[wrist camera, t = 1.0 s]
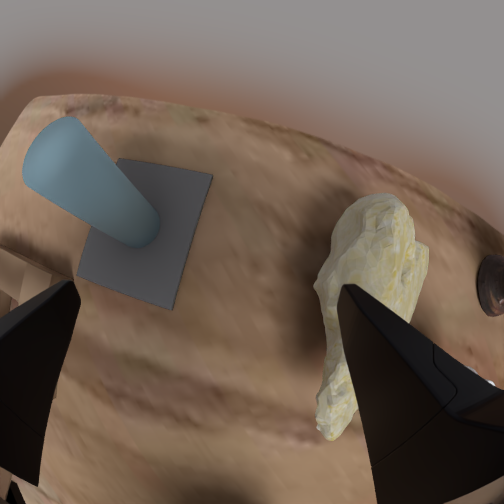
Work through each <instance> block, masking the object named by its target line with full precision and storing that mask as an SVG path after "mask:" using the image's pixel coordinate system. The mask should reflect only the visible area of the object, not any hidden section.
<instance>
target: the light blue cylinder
mask: <svg viewBox="0 0 504 504" xmlns="http://www.w3.org/2000/svg"><path fill="white" fill-rule="evenodd" d="M22 175H23V180H24V182H25V184H26V185H27V186H28V187H29V188H31V189H32V190H34V191H35V192H37V193H39V194H40V195H42V196H43V197H45V198H47V199H48V200H50V201H51V202H53V203H55V204H56V205H58V206H60V207H61V208H63V209H65V210H66V211H68V212H70V213H71V214H73V215H75V216H76V217H78V218H80V219H81V220H83V221H85V222H87V223H88V224H90V225H92V226H93V227H95V228H97V229H99V230H100V231H102V232H104V233H106V234H108V235H109V236H111V237H113V238H115V239H117V240H118V241H120V242H122V243H124V244H126V245H127V246H129V247H132V248H141V247H144V246H146V245H148V244H150V243H151V242H152V241H153V240H154V239H155V237H156V236H157V234H158V231H159V228H160V218H159V215H158V213H157V211H156V210H155V209H154V208H153V207H152V205H151V204H150V203H149V202H148V201H147V200H146V199H145V198H144V196H143V195H142V194H141V193H140V192H139V191H138V190H137V189H136V187H135V186H134V185H133V184H132V183H131V182H130V181H129V179H128V178H127V177H126V176H125V175H124V174H123V172H122V171H121V170H120V169H119V168H118V167H117V165H116V164H115V163H114V162H113V161H112V160H111V158H110V157H109V156H108V155H107V154H106V153H105V151H104V150H103V149H102V148H101V147H100V145H99V144H98V143H97V142H96V141H95V139H94V138H93V137H92V136H91V134H90V133H89V132H88V131H87V130H86V128H85V127H84V126H83V125H82V123H81V122H80V121H79V120H78V119H77V118H75V117H63V118H60V119H58V120H56V121H54V122H52V123H51V124H49V125H48V126H47V127H45V128H44V129H43V130H42V131H41V132H40V133H39V134H38V136H37V137H36V138H35V140H34V141H33V142H32V144H31V146H30V147H29V149H28V151H27V154H26V156H25V159H24V163H23V169H22Z"/></svg>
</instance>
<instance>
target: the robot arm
mask: <svg viewBox="0 0 504 504" xmlns="http://www.w3.org/2000/svg"><path fill="white" fill-rule="evenodd" d="M80 305H81V299H80V296H79V294H78V291H77V289H76V286H75V284H74V282H73V281H72V280H61V281H59V282H58V283H56V284H54V285H52V286H51V287H49V288H47V289H46V290H44V291H42V292H41V293H39V294H37V295H36V296H34V297H32V298H31V299H29V300H28V301H26V302H24V303H23V304H21V305H20V306H18V307H16V308H15V309H13V310H12V311H10V312H9V313H7V314H6V315H4V316H3V317H1V318H0V504H26V503H25V501H24V499H23V497H22V494H21V492H20V490H19V487H18V485H17V483H15V482H14V481H13V480H11V478H12V474H13V475H15V476H17V477H19V478H21V479H23V480H25V481H27V482H29V483H31V484H33V485H35V486H37V487H38V484H39V474H40V465H41V457H42V450H43V444H44V437H45V432H46V427H47V422H48V417H49V413H50V408H51V404H52V400H53V396H54V393H55V389H56V385H57V382H58V378H59V375H60V372H61V368H62V365H63V362H64V359H65V356H66V353H67V350H68V347H69V344H70V341H71V337H72V334H73V330H74V326H75V323H76V319H77V316H78V312H79V309H80ZM337 314H338V320H339V326H340V332H341V338H342V344H343V350H344V354H345V358H346V362H347V366H348V369H349V373H350V377H351V381H352V384H353V388H354V392H355V396H356V400H357V404H358V408H359V413H360V417H361V421H362V425H363V430H364V434H365V439H366V444H367V448H368V453H369V458H370V463H371V469H372V475H373V480H374V486H375V492H376V498H377V504H504V390H502V389H499V388H497V387H495V386H494V385H492V384H491V383H489V382H488V381H486V380H485V379H483V378H482V377H480V376H479V375H477V374H476V373H475V372H473V371H472V370H470V369H469V368H467V367H466V366H464V365H463V364H461V363H460V362H459V361H457V360H456V359H454V358H453V357H452V356H450V355H449V354H448V353H446V352H445V351H444V350H443V349H441V348H440V347H439V346H437V345H436V344H435V343H434V344H433V342H432V341H431V340H430V339H428V338H427V337H426V336H425V335H423V334H422V333H421V332H419V331H418V330H417V329H416V328H414V327H413V326H412V325H410V324H409V323H408V322H406V321H405V320H404V319H402V318H401V317H400V316H399V315H397V314H396V313H395V312H393V311H392V310H391V309H389V308H388V307H387V306H385V305H384V304H382V303H381V302H380V301H378V300H377V299H376V298H374V297H373V296H372V295H370V294H369V293H368V292H366V291H365V290H363V289H362V288H361V287H359V286H358V285H357V284H343V285H342V287H341V290H340V294H339V298H338V302H337Z"/></svg>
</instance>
